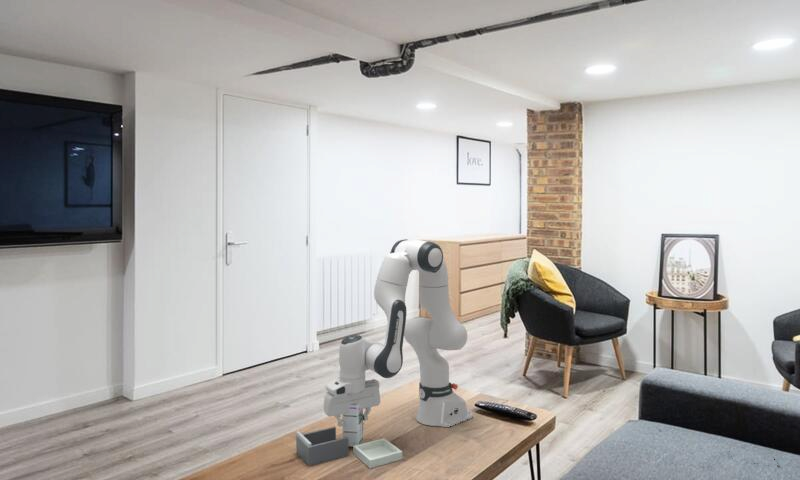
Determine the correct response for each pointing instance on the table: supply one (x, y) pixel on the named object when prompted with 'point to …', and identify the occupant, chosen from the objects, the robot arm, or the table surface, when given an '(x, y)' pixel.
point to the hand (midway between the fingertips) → (353, 422)
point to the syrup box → (353, 425)
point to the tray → (377, 453)
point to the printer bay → (320, 446)
